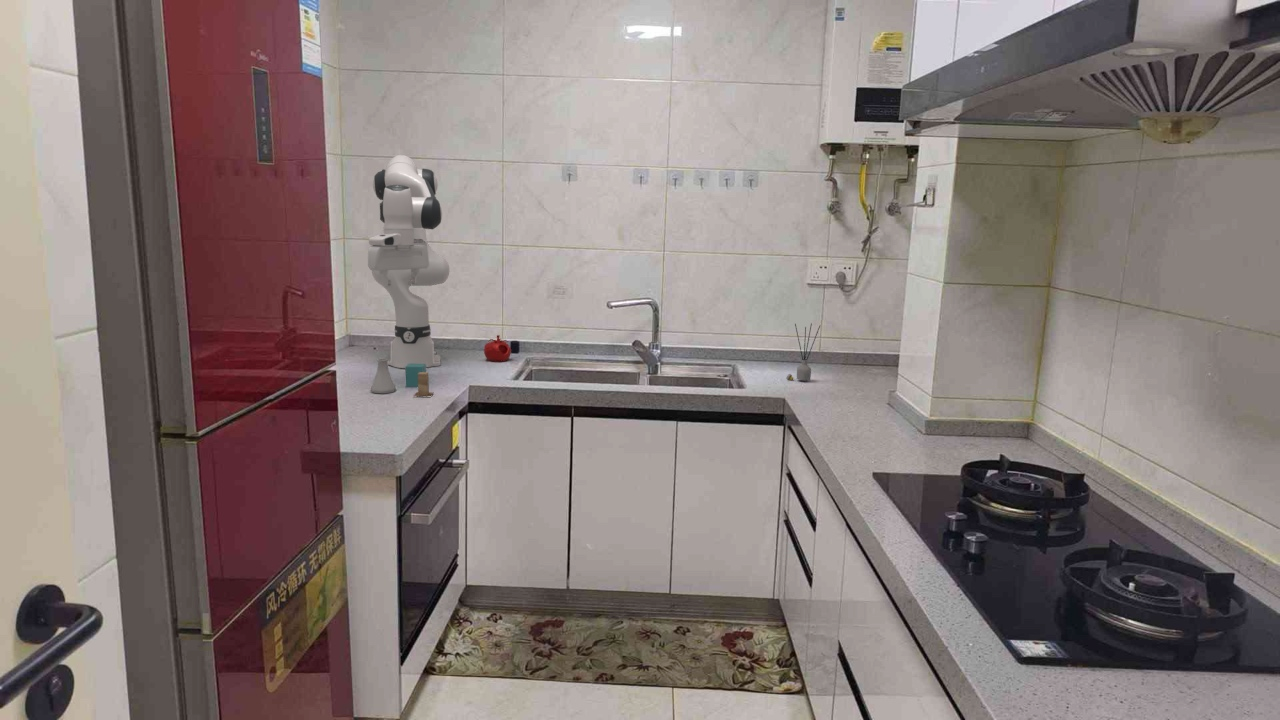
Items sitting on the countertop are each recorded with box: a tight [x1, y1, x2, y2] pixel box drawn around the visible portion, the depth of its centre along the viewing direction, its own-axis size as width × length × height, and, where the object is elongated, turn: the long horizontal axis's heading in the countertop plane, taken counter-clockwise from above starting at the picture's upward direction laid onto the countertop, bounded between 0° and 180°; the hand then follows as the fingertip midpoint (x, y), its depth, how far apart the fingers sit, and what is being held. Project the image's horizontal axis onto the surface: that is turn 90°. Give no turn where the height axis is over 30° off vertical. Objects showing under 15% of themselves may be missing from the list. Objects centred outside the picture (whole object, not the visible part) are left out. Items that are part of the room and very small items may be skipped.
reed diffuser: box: [786, 322, 821, 381], centre depth 281 cm, size 10×7×20 cm
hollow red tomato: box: [483, 334, 512, 362], centre depth 306 cm, size 10×10×9 cm
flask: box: [369, 357, 397, 395], centre depth 252 cm, size 7×7×10 cm
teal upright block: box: [404, 363, 427, 388], centre depth 261 cm, size 5×5×7 cm
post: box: [413, 371, 435, 398], centre depth 248 cm, size 5×5×7 cm
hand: (400, 284), depth 256 cm, fingers open, 8 cm apart
